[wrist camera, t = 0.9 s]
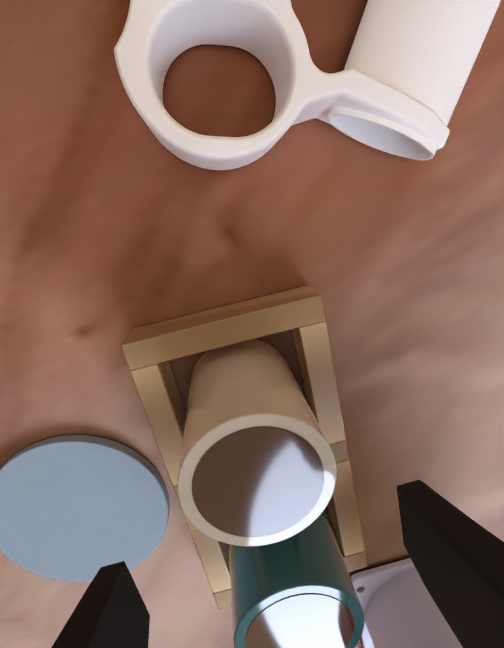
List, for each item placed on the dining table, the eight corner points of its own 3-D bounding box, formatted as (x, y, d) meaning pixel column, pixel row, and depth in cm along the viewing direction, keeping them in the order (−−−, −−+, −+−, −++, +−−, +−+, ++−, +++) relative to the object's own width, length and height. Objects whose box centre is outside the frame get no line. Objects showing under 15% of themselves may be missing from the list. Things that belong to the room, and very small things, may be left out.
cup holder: (353, 533, 22) (368, 567, 20) (217, 571, 22) (218, 609, 19) (308, 284, 17) (321, 294, 15) (131, 328, 17) (120, 345, 15)
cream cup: (299, 415, 19) (347, 524, 12) (205, 440, 19) (202, 564, 12) (280, 326, 17) (323, 395, 11) (177, 352, 17) (155, 439, 11)
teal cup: (322, 519, 21) (373, 659, 15) (238, 543, 21) (250, 695, 14) (307, 449, 20) (356, 569, 13) (216, 473, 19) (218, 608, 13)
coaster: (189, 547, 21) (188, 556, 20) (33, 589, 20) (28, 600, 20) (138, 414, 18) (136, 420, 17) (-43, 461, 18) (-52, 469, 17)
